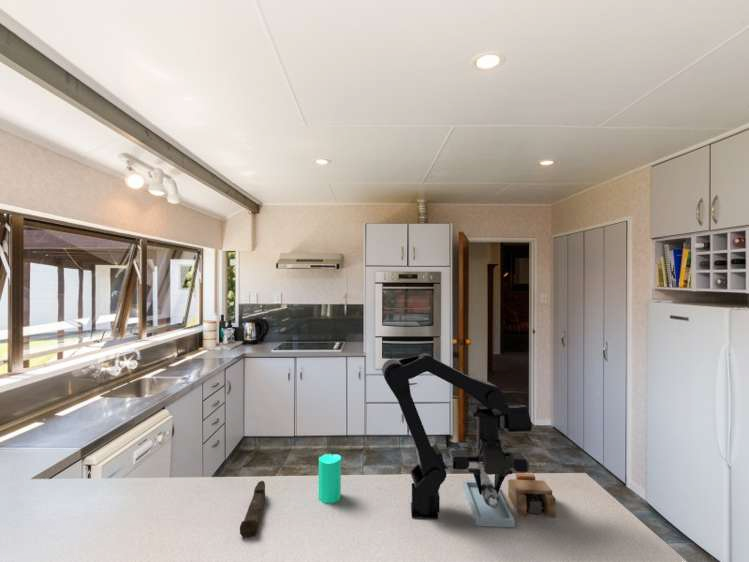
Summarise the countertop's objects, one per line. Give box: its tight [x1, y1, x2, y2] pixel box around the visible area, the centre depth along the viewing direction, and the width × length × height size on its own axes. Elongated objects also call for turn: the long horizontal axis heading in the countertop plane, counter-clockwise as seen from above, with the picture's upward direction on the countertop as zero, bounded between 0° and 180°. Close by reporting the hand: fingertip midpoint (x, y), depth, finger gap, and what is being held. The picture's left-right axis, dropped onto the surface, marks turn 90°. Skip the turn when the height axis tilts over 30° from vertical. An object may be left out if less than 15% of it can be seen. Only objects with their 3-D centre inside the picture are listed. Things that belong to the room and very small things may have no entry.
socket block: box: [507, 478, 556, 518], centre depth 102 cm, size 9×9×5 cm
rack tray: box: [462, 480, 516, 528], centre depth 102 cm, size 9×19×2 cm, turn 177°
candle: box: [317, 453, 342, 504], centre depth 105 cm, size 6×6×12 cm
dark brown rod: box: [239, 480, 266, 538], centre depth 97 cm, size 19×4×5 cm, turn 4°
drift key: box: [515, 472, 542, 514], centre depth 103 cm, size 5×9×6 cm, turn 177°
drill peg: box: [480, 470, 499, 508], centre depth 100 cm, size 4×13×4 cm, turn 177°
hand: (488, 494), depth 100 cm, fingers closed on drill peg, 4 cm apart
